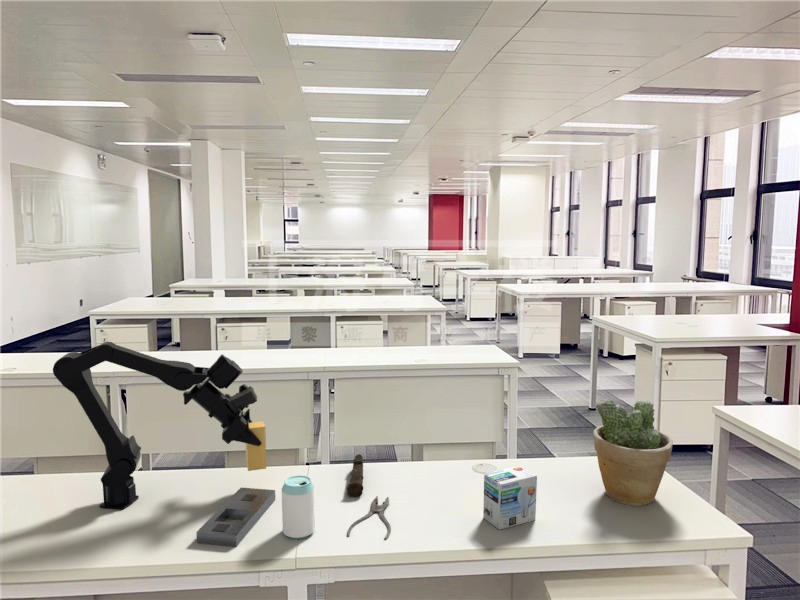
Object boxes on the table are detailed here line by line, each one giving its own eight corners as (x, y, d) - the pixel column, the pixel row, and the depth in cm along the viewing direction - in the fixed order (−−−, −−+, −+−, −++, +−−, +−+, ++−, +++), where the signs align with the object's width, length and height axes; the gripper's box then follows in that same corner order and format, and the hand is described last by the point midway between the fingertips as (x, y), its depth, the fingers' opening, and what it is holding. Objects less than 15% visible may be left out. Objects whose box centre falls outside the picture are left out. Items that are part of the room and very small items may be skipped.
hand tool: (362, 498, 148) (362, 480, 148) (346, 498, 148) (346, 480, 148) (369, 468, 167) (369, 452, 166) (355, 467, 167) (354, 452, 166)
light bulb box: (499, 530, 132) (500, 484, 131) (481, 517, 138) (482, 473, 137) (537, 519, 137) (538, 475, 136) (518, 507, 143) (519, 464, 141)
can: (316, 524, 135) (315, 473, 133) (312, 540, 128) (311, 487, 126) (285, 524, 135) (284, 473, 133) (280, 540, 128) (278, 487, 126)
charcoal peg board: (196, 542, 127) (196, 531, 127) (241, 496, 148) (240, 487, 148) (236, 546, 125) (236, 535, 125) (275, 499, 147) (275, 489, 147)
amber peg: (248, 471, 149) (246, 428, 148) (246, 464, 153) (244, 423, 152) (266, 468, 151) (265, 426, 150) (263, 462, 155) (262, 421, 154)
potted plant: (628, 475, 161) (632, 385, 158) (687, 503, 145) (693, 404, 141) (575, 488, 153) (579, 394, 150) (632, 519, 137) (637, 415, 134)
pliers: (346, 539, 128) (350, 496, 148) (346, 542, 128) (350, 499, 148) (391, 537, 128) (389, 495, 148) (391, 541, 128) (389, 499, 148)
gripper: (235, 388, 139) (283, 430, 143) (238, 369, 158) (282, 407, 161) (201, 422, 139) (251, 464, 142) (208, 400, 157) (253, 437, 161)
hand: (260, 441), depth 152 cm, fingers closed on amber peg, 5 cm apart
